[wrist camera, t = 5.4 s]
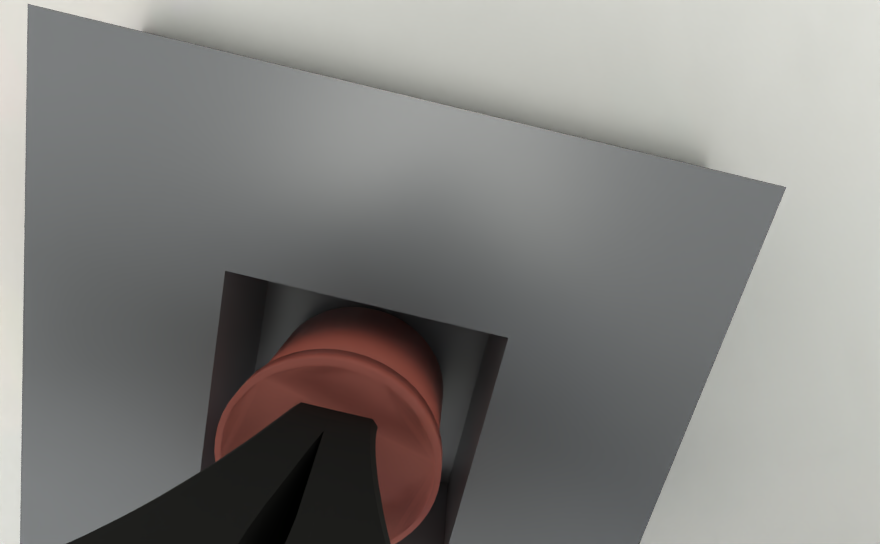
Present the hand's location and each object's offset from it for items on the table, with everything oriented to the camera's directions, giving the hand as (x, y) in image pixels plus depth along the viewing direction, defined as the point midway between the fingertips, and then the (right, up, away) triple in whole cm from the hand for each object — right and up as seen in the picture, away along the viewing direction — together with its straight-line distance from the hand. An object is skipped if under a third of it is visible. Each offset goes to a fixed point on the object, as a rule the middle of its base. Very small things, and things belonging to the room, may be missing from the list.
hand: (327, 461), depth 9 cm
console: (-1, -4, +6) cm, 7 cm away
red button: (0, +1, +3) cm, 3 cm away
